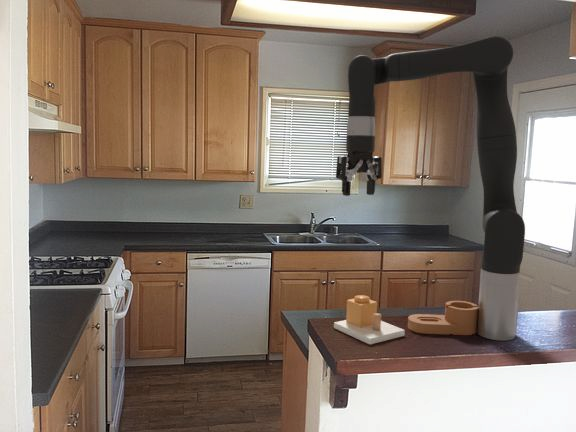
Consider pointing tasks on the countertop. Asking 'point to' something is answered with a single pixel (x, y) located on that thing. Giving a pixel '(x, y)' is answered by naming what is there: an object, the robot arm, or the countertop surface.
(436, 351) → the countertop surface
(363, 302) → the cube with dome top
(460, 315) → the bracket
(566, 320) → the countertop surface
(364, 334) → the plate
